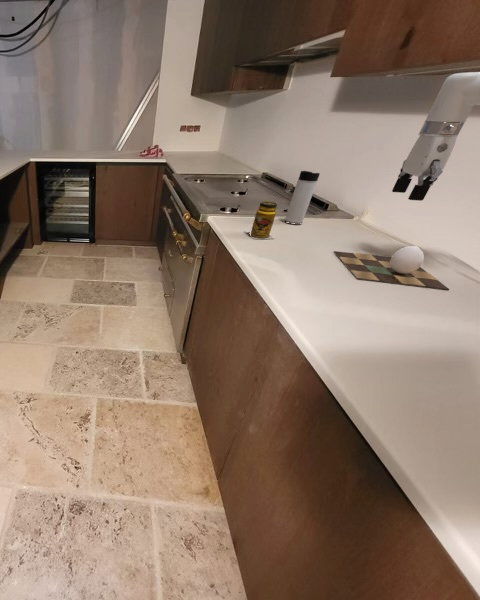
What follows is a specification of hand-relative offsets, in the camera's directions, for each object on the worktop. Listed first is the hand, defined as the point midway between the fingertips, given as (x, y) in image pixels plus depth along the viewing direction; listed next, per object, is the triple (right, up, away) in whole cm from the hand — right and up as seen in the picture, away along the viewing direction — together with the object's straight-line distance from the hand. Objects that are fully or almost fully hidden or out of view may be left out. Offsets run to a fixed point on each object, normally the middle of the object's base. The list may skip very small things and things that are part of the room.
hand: (406, 195), depth 93 cm
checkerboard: (-6, -21, 0) cm, 22 cm away
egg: (-5, -23, -3) cm, 23 cm away
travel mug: (-9, +1, +37) cm, 38 cm away
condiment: (-29, -7, +25) cm, 39 cm away
